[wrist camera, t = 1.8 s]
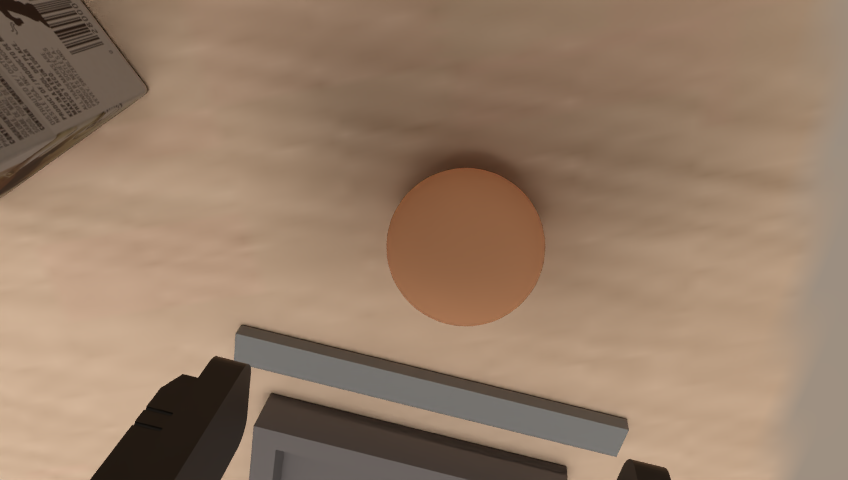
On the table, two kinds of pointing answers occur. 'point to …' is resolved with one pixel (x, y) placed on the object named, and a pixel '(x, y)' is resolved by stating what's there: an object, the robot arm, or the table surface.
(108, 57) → the coffee box
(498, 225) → the ball
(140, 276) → the table surface
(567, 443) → the distance line
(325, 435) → the tray
